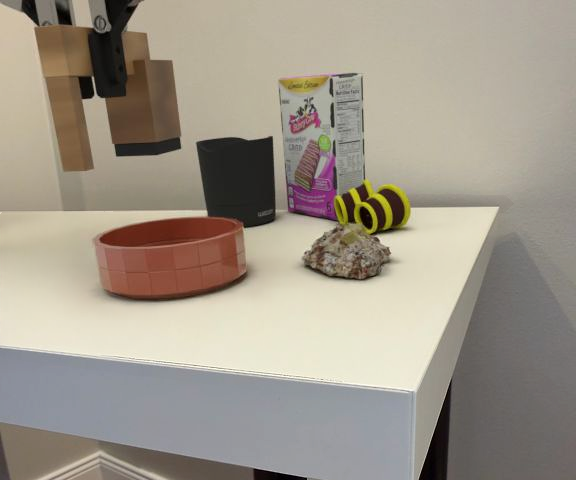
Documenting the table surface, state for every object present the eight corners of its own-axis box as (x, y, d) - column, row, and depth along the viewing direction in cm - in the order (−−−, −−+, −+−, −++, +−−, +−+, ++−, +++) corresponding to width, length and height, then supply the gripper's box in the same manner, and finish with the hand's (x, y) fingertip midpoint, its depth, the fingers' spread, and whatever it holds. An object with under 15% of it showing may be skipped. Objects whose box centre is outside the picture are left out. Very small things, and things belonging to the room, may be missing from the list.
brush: (99, 170, 45) (73, 23, 42) (49, 172, 46) (20, 28, 43) (183, 148, 57) (169, 32, 54) (142, 150, 59) (125, 36, 55)
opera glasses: (334, 230, 79) (325, 189, 77) (372, 215, 80) (364, 175, 78) (373, 244, 71) (364, 199, 68) (415, 228, 72) (407, 183, 70)
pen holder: (211, 232, 79) (200, 145, 75) (202, 219, 88) (192, 140, 83) (286, 223, 81) (280, 137, 77) (270, 211, 89) (264, 133, 85)
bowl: (73, 301, 56) (62, 249, 54) (144, 262, 68) (137, 217, 66) (216, 303, 52) (209, 247, 51) (266, 261, 64) (262, 215, 62)
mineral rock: (290, 233, 64) (368, 203, 63) (305, 274, 66) (380, 245, 65) (305, 263, 54) (396, 228, 54) (321, 309, 56) (410, 276, 56)
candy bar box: (285, 212, 88) (275, 78, 81) (315, 206, 90) (308, 75, 84) (336, 222, 79) (330, 72, 73) (368, 215, 82) (365, 70, 75)
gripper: (-111, -228, 39) (-30, 107, 47) (127, -286, 35) (173, 94, 42) (-25, -186, 46) (34, 102, 53) (185, -230, 41) (216, 90, 49)
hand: (95, 96), depth 48 cm, fingers closed on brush, 2 cm apart
